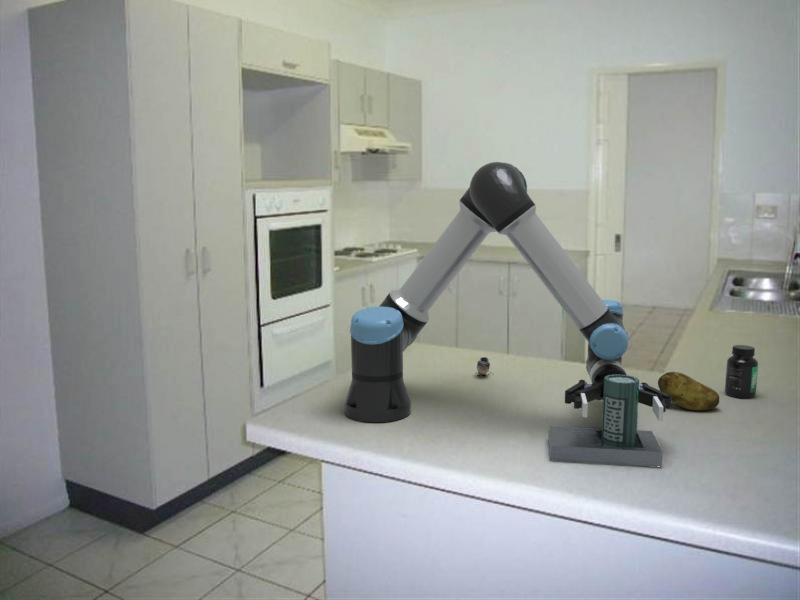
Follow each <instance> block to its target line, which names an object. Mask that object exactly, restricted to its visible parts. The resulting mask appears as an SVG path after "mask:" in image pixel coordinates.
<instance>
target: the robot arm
mask: <svg viewBox="0 0 800 600" xmlns="http://www.w3.org/2000/svg"><path fill="white" fill-rule="evenodd" d="M458 201H459V211H458V212H457V214H456V215H455V217H454V218H453V219H452V221H450V223H449V224H448V226H447V227H446V229H444V231H443V232H442V234H441V235H440V236H439V237H438V239H437V240H436V242H435V243H433V245H432V247H430V249H429V250H428V252H427V253H426V254H425V256H424V257H423V258H422V260H421V261H420V262H419V264H418V265H417V267H416V268H414V271H412V273H410V275H409V277H408V278H407V279H406V281H405V282H404V284H402V286H401V287H400V288H398V289H392V290H390V292H389V293H388V294H387V295H386V297H385V298H384V299H383V301H382V302H381V303H380V304H379V306H371V307H366V308H362V309H359V310H358V311H356V312H355V313H353V315H352V317H351V320H350V326H349V327H350V330H349V333H350V350H351V380H350V381H351V382H350V385H349V388H348V391H347V395H346V397H345V398H346V399H345V402H344V414H345V415H346V416H347V417H348V418H350V419H352V420H355V421H358V422H364V423H388V422H394V421H399V420H401V419H404V418H406V417H408V416H409V415H410V414H411V412H412V404H411V403H412V402H411V399H410V396H409V393H408V390H407V387H406V384H405V381H404V354H403V353H404V352H405V351H406V350H407V348H408V347H410V346H411V345H412V344H413V343H414V342H415V340H416V339H417V337H418V335H419V334H420V332H421V331H422V330H423V329H424V327H425V326H426V324H427V323H428V322H429V320H430V316H429V315H430V314H429V310H431V308H432V307H433V306H434V304H435V303H436V301H437V300H439V298H440V297H441V295H442V294H443V293H444V292H445V290H446V289H447V288H448V286H449V285H450V284H451V283H452V281H453V280H454V279H455V278H456V276H457V275H458V274H459V272H460V271H462V268H464V266H465V265H466V263H467V262H468V261H469V259H470V258H471V257H472V256H473V255H474V253H475V252H476V251H477V249H478V248H479V247H480V245H481V244H482V243H483V242H484V240H485V239H486V238H487V237H488V236H489V235H490V234H491V233H495V232H497V233H498V234H499V235H503V236H506V237H507V238H508V240H509V241H510V242H511V244H513V246H514V247H515V248H516V250H517V251H518V252H519V253H520V255H521V256H522V258H523V259H524V260H525V262H526V263H527V264H528V265H529V267H530V268H531V269H532V270H533V272H534V273H535V274H536V276H537V277H538V278H539V279H540V281H541V282H542V283H543V285H544V286H545V287H546V289H547V291H548V292H549V293H550V294H551V295H552V297H553V298H554V299H555V301H556V302H557V303H558V304H559V306H560V307H561V308H562V309H563V311H564V312H565V313H566V314H567V316H568V317H569V318H570V321H572V322H573V324H574V325H575V326H576V328H577V329H578V330H579V332H580V333H581V334H582V336H583V337H584V338H585V340H586V342H587V343H588V344H587V357H586V362H585V364H586V367H585V368H586V372H587V374H588V376H589V378H590V381H591V382H590V383H588V382H587V381H586V380H584V379H579V380H578V383H576V384H574V385H572V386H570V387H569V388H567V389H566V390H565V391H564V403H565V404H567V405H568V404H569V405H570V404H572V403H574V404H573V409H576V410H579V409H580V411H581V415H582V418H588V405H589V403H590V402H592V401H595V400H597V401H603V394H604V377H605V376H608V375H613V374H614V375H616V374H617V375H618V374H620V375H627V373H626V370H625V368H624V367H623V362H622V361H623V355H624V354H625V353H626V352H627V350H628V346H629V336H628V335H629V334H628V332H627V331H626V329H625V326H624V324H623V317H624V313H623V304H622V303H621V302H620V301H618V300H614V299H602V298H601V296H599V294H598V293H597V292H596V290H595V288H594V287H593V286H592V285H591V283H590V282H589V281H588V280H587V278H586V277H585V276H584V274H583V273H582V272H581V271H580V269H579V268H578V267H577V265H576V264H575V263H574V262H573V260H572V258H571V257H570V256H569V255H568V254H567V252H566V251H565V250H564V248H563V247H562V246H561V244H560V243H559V241H558V240H557V239H556V238H555V236H554V235H553V234H552V233H551V231H550V230H549V229H548V227H547V226H546V225H545V223H544V222H543V221H542V220H541V218H540V217H539V216H538V214H537V213H536V212H537V211H536V209H537V205H536V203H534V201H533V199H532V198H531V197H530V195H529V193H528V184H527V180H526V178H525V176H524V174H523V173H522V171H520V169H518V167H516V166H514V165H513V164H511V163H508V162H501V161H493V162H488V163H486V164H484V165H482V166H481V167H479V168H478V169H477V170H476V171H475V173H474V174H473V175H472V178H471V181H470V184H469V187H468V188H467V190H466V191H465V192H464V194H463V195H462V197H461V198H460V199H459V200H458ZM671 400H672V396H671V395H669V394H667V393H664V392H662V391H660V389H659V388H655V387H653V386H651V385H650V384H648V383H647V382H643V381H642V382H641V383H639V398H638V404H641V405H645V406H648V407H650V408H652V412H653V413H654V415H655V417H656V419H657V421H658V422H664V413H666V409H667V410H670V409H672V401H671Z"/></svg>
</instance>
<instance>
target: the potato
mask: <svg viewBox="0 0 800 600" xmlns="http://www.w3.org/2000/svg"><path fill="white" fill-rule="evenodd" d="M657 387H658V390H660V391H662V392H664V393H667V394H669V395H671V396H672V400H671V403H674V404H676V405H677V406H679V407H681V408H682V409H686V410H689V411H708V410H711V409H715V408H716V407H718V405H719V403H720V395H719V393H718V392H717V391H716V390H714V389H713V388H711V387H709V386H707V385H705V384H703V383H701V382H699V381H697V380H695V379H694V378H691V376H689V375H687V374H685V373H682V372H679V371H669V372H666V373H664V374H662V375H661V376H660V377H659V378H658V380H657Z"/></svg>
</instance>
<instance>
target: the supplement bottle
mask: <svg viewBox="0 0 800 600" xmlns="http://www.w3.org/2000/svg"><path fill="white" fill-rule="evenodd" d="M755 351H756V348H755V347H753V346H750V345H746V344H737V345H736V344H734V345H733V346H732V351H731V354H732V355H731V356H729V357H728V358H727V360H726V371H725V372H726V373H725V382H724V383H725V384H724V393H725V394H726V395H727V396H729V397H731V398H736V399H743V400H749V399H750V400H751V399H753V398H755V397H756V393H757V386H758V385H757V383H758V375H759V374H758V372H759V371H758V370H759V362H758V360H757V359H756V358H755V355H756V353H755Z"/></svg>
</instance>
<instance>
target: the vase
mask: <svg viewBox="0 0 800 600" xmlns="http://www.w3.org/2000/svg"><path fill="white" fill-rule="evenodd" d="M490 365H491V363H490V362H489V358H488V357H480V358H479V360H478V361H477V365H476V372H474V375H475V374H477V375H487V376H489V375H494V372H492V371H490V367H491V366H490ZM488 374H489V375H488ZM477 375H476V376H477Z"/></svg>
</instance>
